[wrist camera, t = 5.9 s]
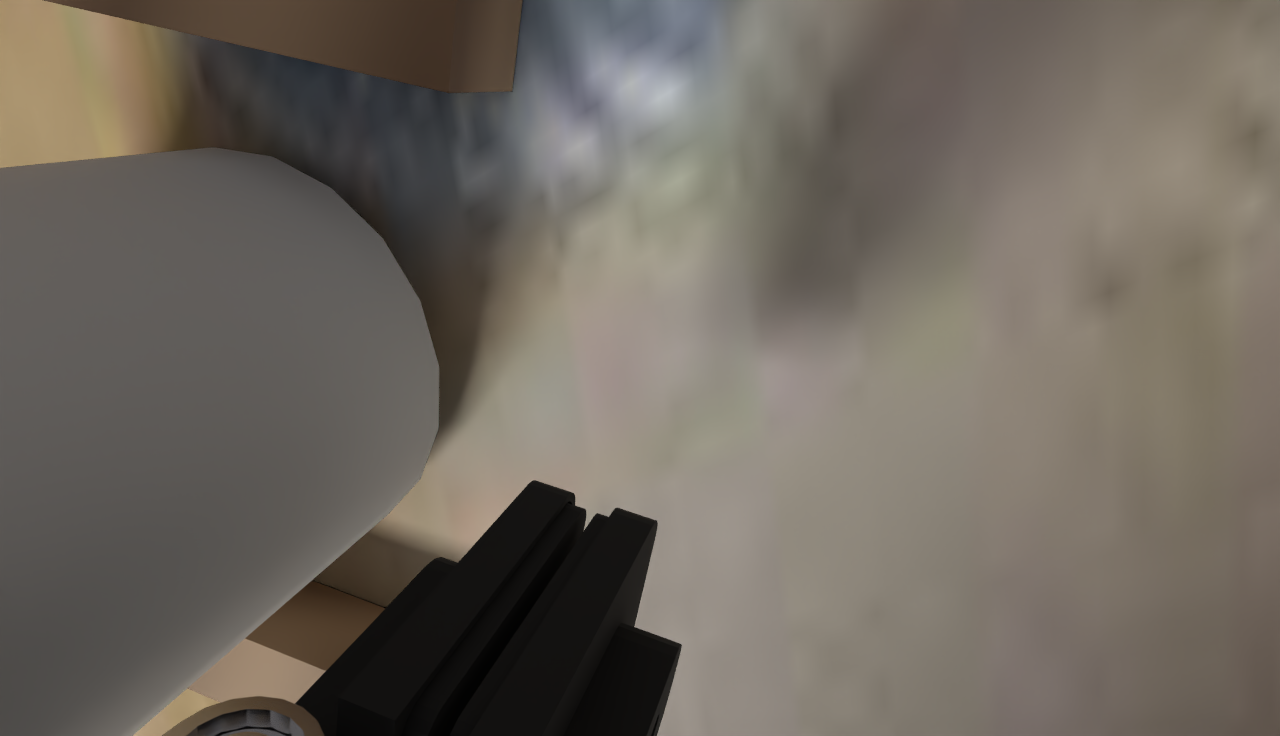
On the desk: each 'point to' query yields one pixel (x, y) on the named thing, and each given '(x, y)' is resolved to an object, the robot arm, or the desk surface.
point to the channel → (379, 46)
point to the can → (185, 418)
